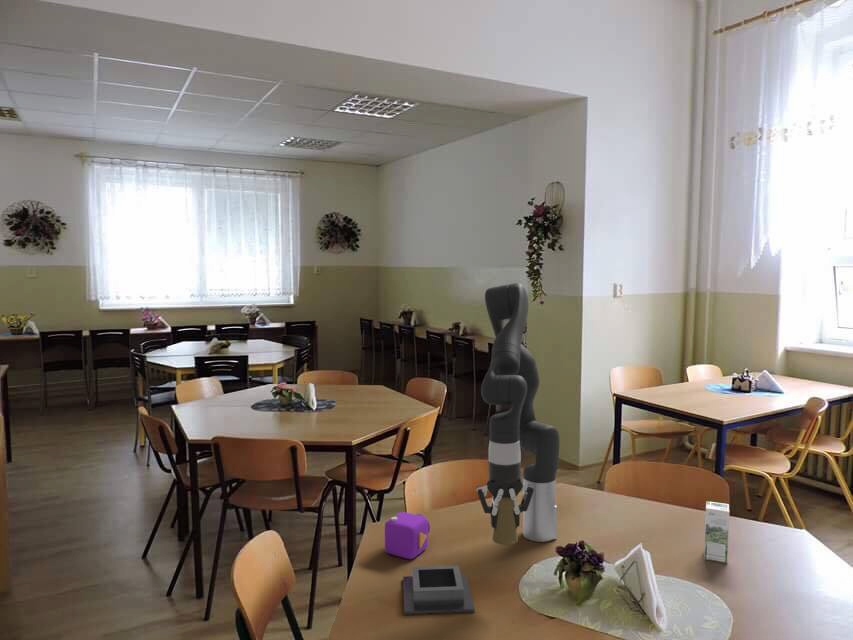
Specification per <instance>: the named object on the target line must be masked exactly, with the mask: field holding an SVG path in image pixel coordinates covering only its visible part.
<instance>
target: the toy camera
mask: <svg viewBox="0 0 853 640" xmlns="http://www.w3.org/2000/svg"><path fill="white" fill-rule="evenodd" d="M430 530H431V525H430V521H429V520H428V518H427V517H425V516H424V515H423V514H419V513H418V514H414V513H411V512H404V511H403V512H399V513H397V514H396V515H394V516H392V517H390V519H388V520H387V521H386V522H385V524H384V548H385V549H384V550H385V552H386V553H387V554H389V555H392V556H396V557H399V558H404V559H406V560H407V559H408V560H413V559H414V558H416V557H418V555H420V554H421V553H422V552H424V551H425V550H426V549H427V548H428V543H429V533H430V532H431V531H430Z"/></svg>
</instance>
